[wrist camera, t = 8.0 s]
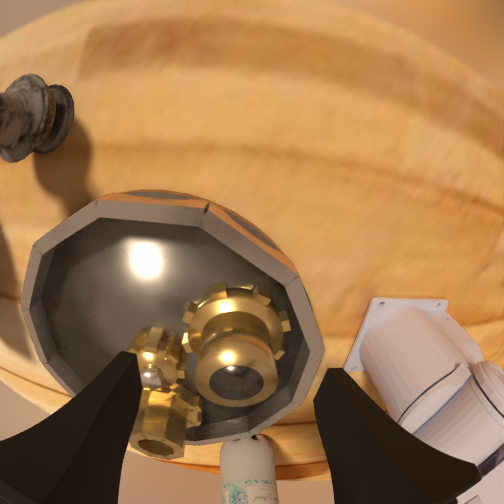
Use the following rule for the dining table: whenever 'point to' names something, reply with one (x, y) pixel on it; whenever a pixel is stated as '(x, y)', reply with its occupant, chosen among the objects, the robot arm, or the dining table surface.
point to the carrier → (175, 307)
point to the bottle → (248, 471)
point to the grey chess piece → (33, 117)
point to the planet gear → (165, 421)
